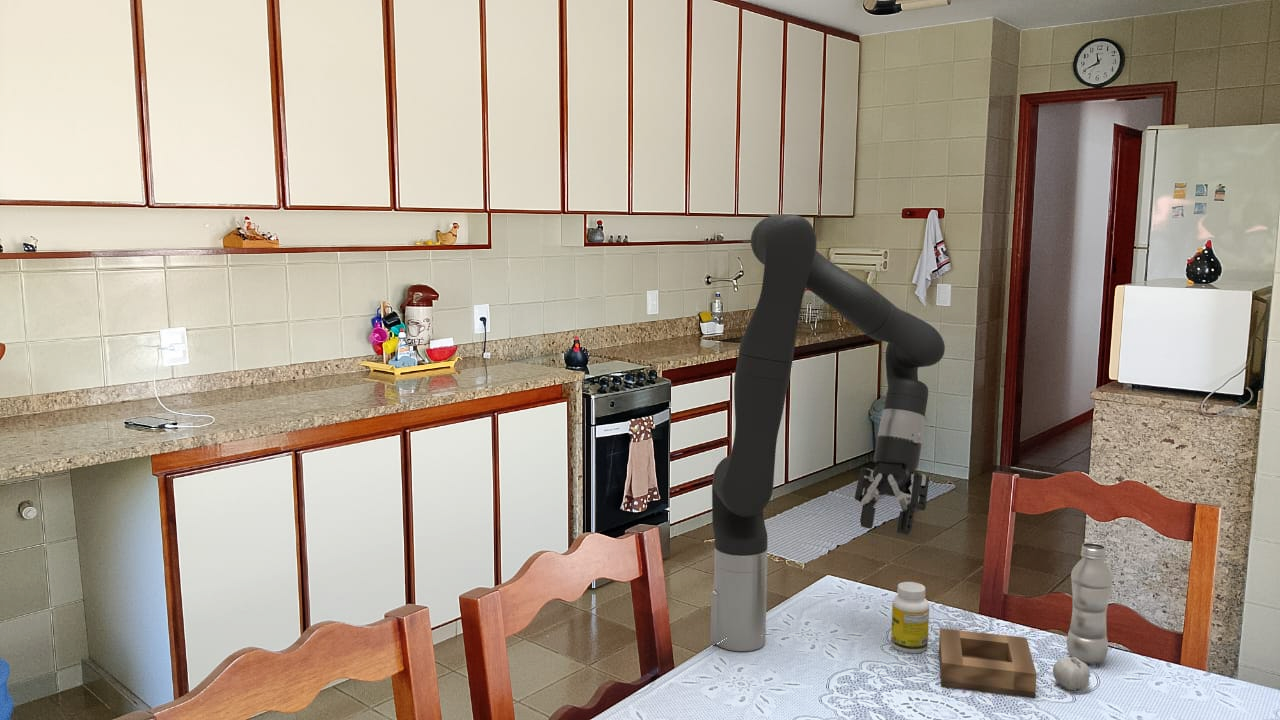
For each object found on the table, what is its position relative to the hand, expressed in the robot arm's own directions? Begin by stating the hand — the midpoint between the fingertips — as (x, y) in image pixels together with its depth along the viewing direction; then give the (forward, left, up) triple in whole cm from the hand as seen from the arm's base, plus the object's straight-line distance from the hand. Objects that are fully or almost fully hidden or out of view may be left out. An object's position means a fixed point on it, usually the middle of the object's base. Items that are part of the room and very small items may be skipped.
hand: (884, 530), depth 164 cm
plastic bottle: (+34, +5, -21) cm, 40 cm away
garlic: (+30, -6, -21) cm, 37 cm away
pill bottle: (+5, +2, -21) cm, 22 cm away
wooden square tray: (+17, -5, -21) cm, 28 cm away
